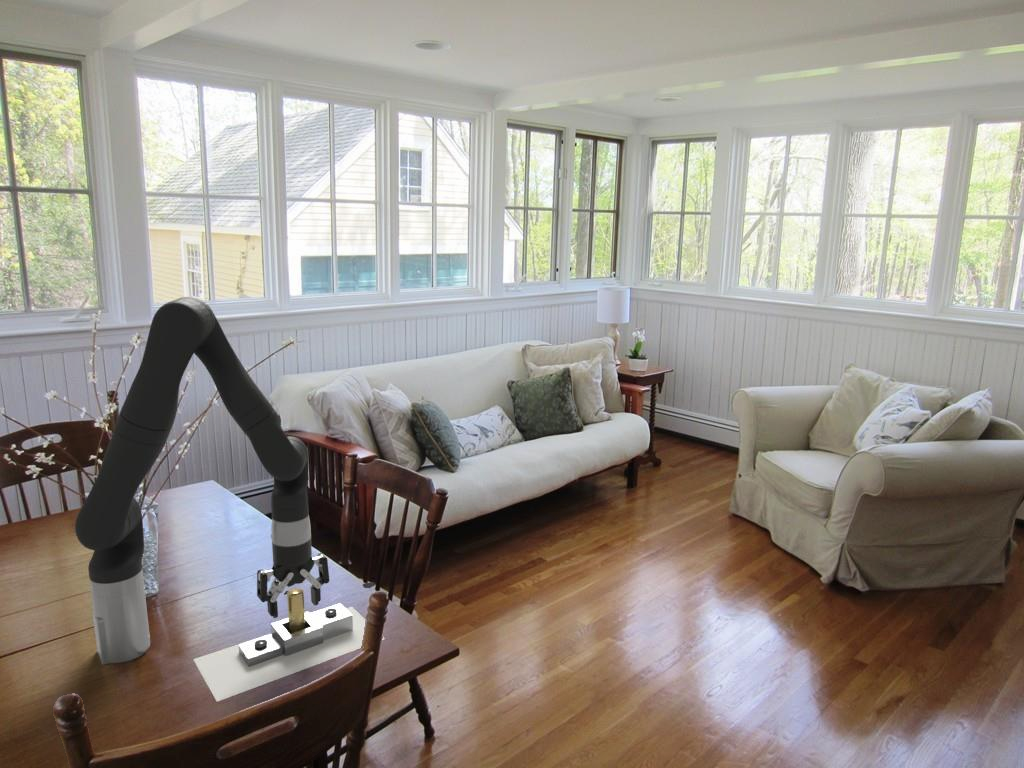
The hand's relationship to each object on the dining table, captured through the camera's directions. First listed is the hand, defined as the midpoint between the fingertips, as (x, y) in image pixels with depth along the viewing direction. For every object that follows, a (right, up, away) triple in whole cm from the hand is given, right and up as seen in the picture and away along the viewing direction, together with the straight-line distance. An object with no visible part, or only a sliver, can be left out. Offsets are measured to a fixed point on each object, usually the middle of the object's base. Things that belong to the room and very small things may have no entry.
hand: (295, 609), depth 149 cm
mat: (0, -8, -1) cm, 8 cm away
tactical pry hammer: (+2, -4, +22) cm, 22 cm away
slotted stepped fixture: (0, -7, +2) cm, 7 cm away
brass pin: (0, -7, +2) cm, 7 cm away
